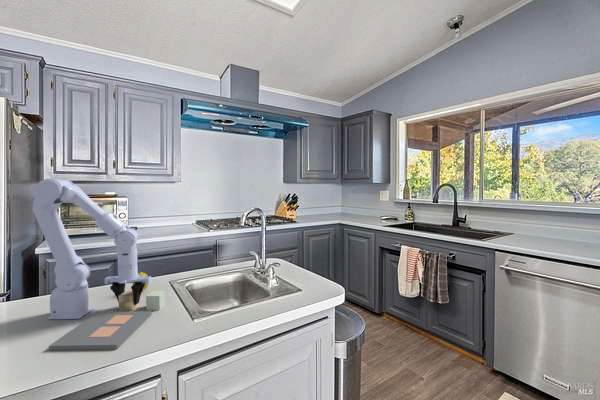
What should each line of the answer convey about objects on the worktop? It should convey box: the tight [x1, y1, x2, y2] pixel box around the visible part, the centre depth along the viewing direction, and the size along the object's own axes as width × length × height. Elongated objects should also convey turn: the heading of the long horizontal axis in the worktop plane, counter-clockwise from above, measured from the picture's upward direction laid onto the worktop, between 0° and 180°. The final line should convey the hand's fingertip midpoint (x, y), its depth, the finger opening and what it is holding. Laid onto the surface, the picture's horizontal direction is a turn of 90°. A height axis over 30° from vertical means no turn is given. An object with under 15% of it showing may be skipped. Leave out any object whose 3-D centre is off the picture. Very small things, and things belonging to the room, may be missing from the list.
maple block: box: [118, 290, 140, 312], centre depth 98 cm, size 4×4×5 cm
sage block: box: [145, 290, 166, 311], centre depth 99 cm, size 4×4×5 cm
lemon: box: [132, 271, 149, 292], centre depth 112 cm, size 6×6×8 cm
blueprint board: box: [48, 310, 152, 351], centre depth 83 cm, size 17×19×1 cm
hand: (129, 303), depth 98 cm, fingers closed on maple block, 4 cm apart
